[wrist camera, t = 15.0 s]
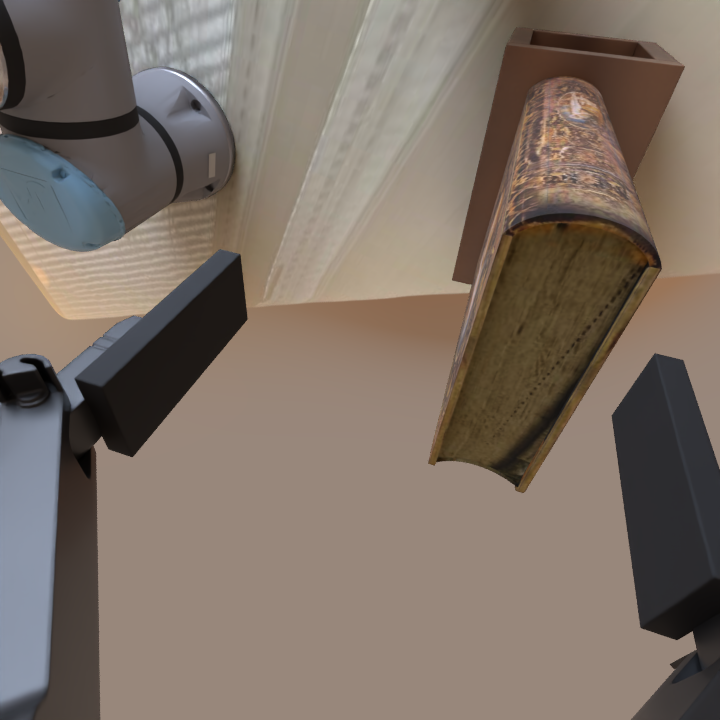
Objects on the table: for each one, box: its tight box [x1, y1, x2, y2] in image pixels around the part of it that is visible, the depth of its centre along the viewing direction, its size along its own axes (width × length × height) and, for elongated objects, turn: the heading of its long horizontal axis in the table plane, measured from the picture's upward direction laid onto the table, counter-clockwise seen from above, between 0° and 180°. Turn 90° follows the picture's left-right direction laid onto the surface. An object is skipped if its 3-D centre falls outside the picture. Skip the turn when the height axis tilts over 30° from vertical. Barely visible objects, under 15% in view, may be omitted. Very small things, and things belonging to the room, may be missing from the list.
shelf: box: [452, 27, 685, 285], centre depth 43 cm, size 12×20×12 cm, turn 176°
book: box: [428, 76, 662, 493], centre depth 30 cm, size 16×6×25 cm, turn 175°
